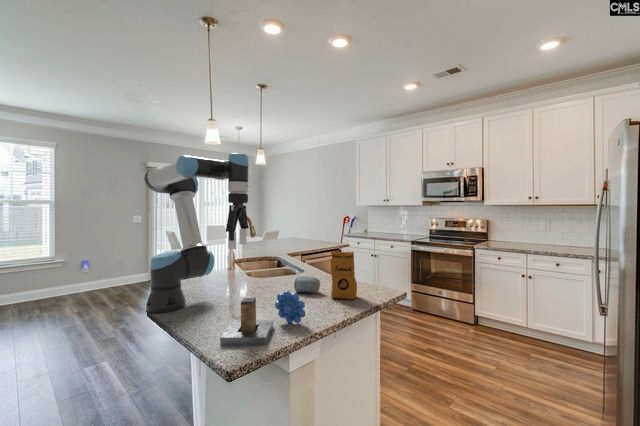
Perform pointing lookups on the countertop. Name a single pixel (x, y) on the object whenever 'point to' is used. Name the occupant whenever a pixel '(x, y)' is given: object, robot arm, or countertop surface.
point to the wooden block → (248, 315)
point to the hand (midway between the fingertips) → (237, 246)
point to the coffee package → (343, 276)
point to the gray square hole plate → (247, 334)
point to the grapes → (290, 307)
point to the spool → (307, 284)
